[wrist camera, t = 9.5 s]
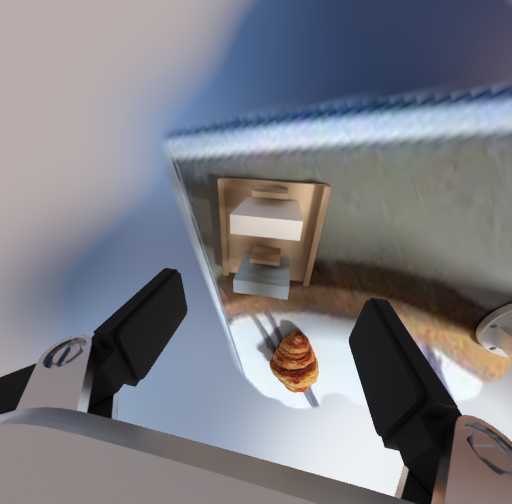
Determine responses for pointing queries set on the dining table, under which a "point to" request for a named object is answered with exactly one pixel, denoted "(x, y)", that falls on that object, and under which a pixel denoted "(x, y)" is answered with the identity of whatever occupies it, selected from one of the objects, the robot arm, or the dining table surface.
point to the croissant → (295, 363)
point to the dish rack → (271, 249)
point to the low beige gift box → (267, 219)
